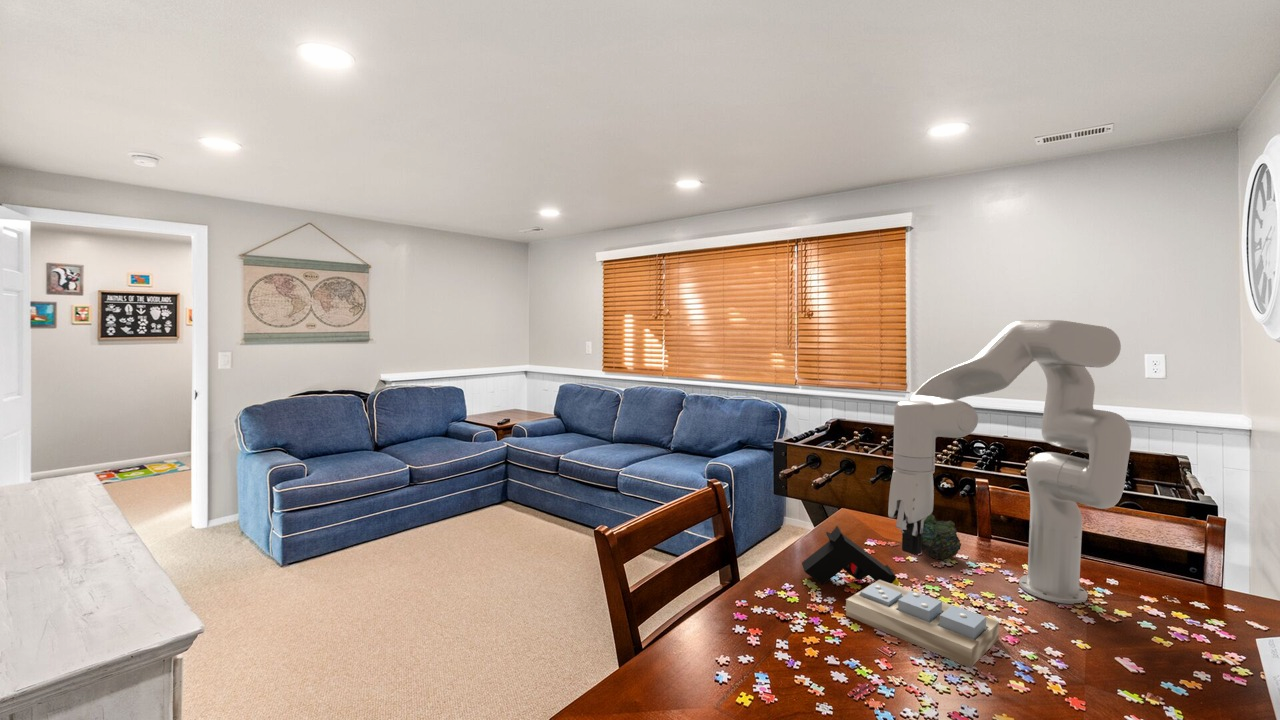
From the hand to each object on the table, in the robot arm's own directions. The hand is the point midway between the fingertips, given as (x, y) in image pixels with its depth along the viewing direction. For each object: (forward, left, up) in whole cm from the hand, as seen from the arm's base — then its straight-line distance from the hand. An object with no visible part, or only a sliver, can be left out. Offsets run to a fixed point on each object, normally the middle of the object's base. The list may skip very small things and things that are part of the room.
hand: (911, 551), depth 116 cm
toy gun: (-8, -18, -15) cm, 25 cm away
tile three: (0, -6, -13) cm, 14 cm away
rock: (-40, -13, -15) cm, 45 cm away
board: (0, +2, -15) cm, 15 cm away
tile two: (0, +2, -12) cm, 12 cm away
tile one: (0, +10, -12) cm, 16 cm away
